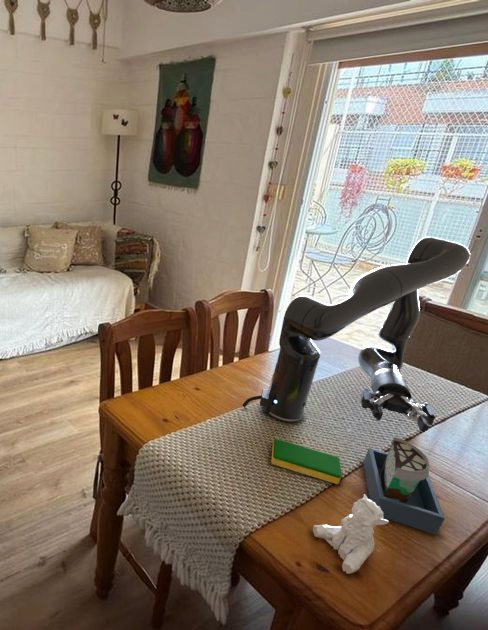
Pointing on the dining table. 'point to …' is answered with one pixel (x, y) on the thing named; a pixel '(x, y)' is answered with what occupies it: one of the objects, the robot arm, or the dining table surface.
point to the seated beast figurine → (354, 533)
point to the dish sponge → (306, 461)
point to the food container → (403, 470)
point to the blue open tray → (420, 505)
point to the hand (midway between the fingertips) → (401, 422)
